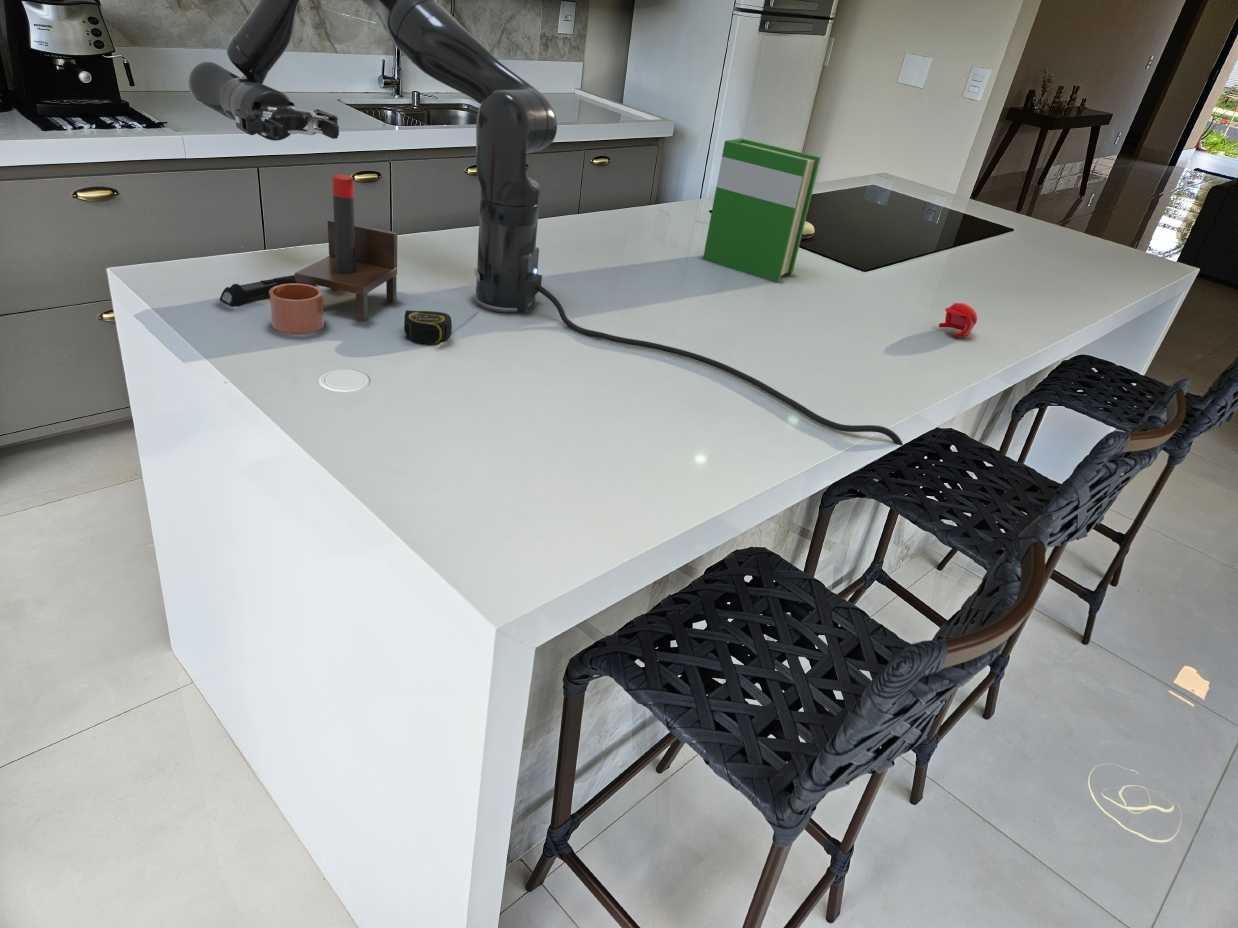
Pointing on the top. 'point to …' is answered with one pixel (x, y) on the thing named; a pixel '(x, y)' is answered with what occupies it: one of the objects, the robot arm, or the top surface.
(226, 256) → the top surface
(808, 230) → the donut
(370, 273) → the chair
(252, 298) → the electric trimmer
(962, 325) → the red toy helmet
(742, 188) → the hardback book
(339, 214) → the marker
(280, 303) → the pen pot
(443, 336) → the tape measure
